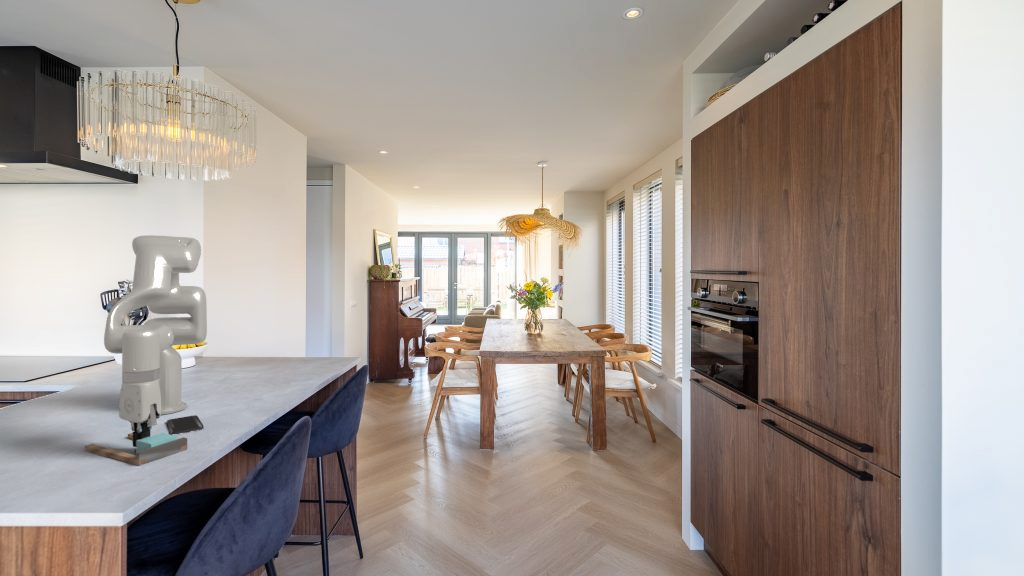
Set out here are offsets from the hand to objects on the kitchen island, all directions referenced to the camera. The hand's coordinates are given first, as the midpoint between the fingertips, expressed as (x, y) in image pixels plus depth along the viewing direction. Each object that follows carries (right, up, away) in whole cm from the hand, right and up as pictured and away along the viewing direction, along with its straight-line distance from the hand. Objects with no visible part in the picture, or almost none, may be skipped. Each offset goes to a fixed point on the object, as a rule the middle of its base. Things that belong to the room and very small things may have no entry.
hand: (141, 445), depth 114 cm
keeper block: (+5, -2, -1) cm, 5 cm away
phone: (-3, -2, +19) cm, 20 cm away
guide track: (-2, -2, +1) cm, 3 cm away
